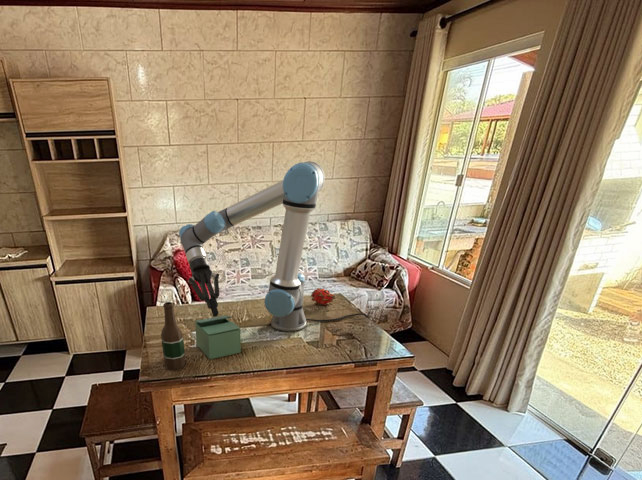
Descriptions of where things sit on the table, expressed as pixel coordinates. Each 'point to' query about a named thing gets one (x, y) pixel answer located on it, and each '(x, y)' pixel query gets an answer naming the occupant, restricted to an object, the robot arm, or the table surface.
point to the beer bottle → (172, 340)
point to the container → (218, 338)
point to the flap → (213, 319)
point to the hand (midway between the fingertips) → (216, 314)
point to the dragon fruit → (322, 296)
